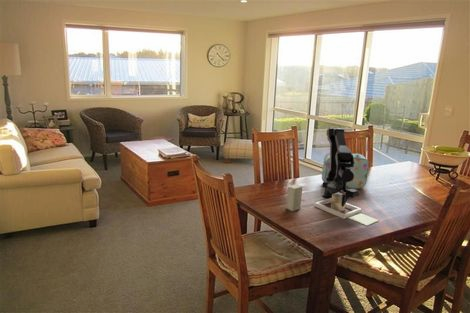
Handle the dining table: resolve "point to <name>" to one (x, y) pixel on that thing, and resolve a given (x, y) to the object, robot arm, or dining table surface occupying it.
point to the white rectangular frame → (355, 211)
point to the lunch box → (358, 170)
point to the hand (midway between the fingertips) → (338, 204)
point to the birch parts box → (337, 202)
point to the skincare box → (294, 197)
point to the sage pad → (363, 219)
